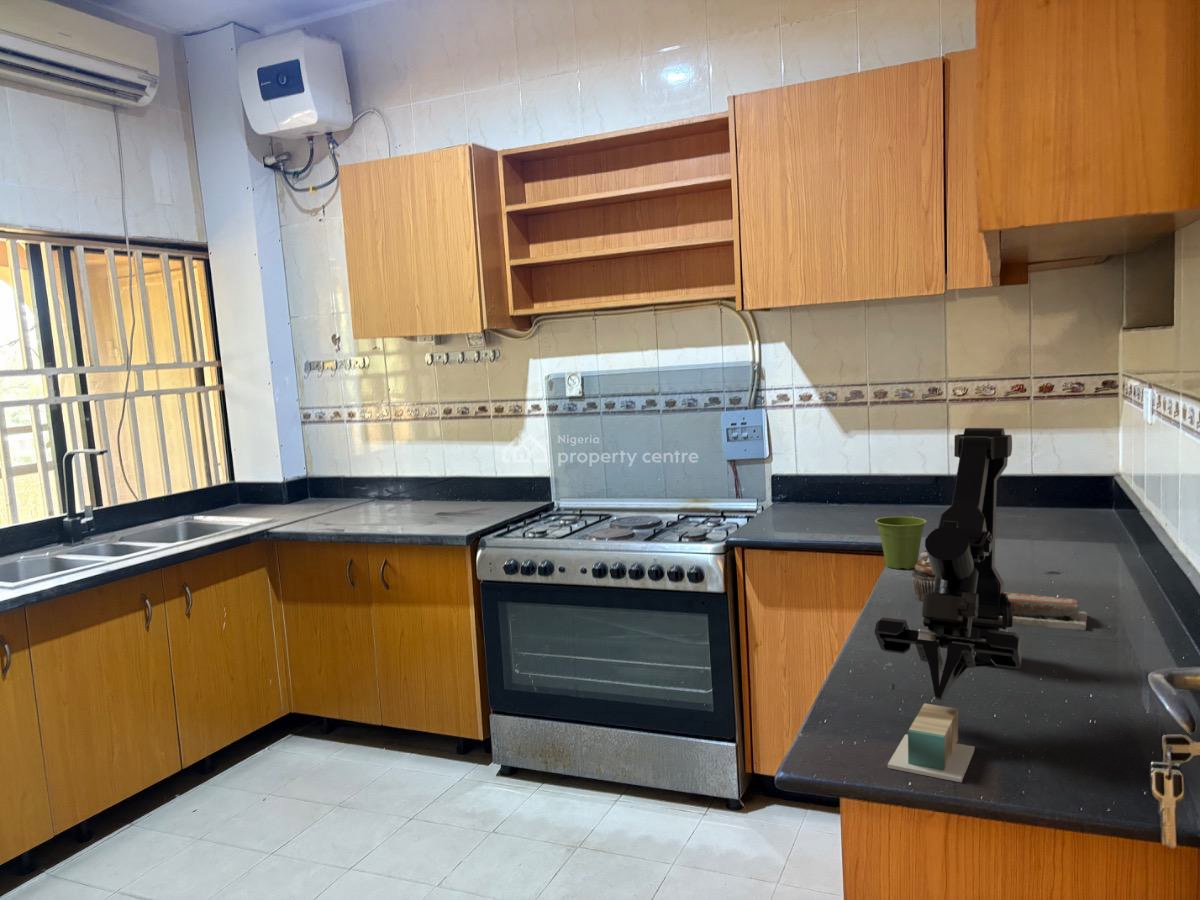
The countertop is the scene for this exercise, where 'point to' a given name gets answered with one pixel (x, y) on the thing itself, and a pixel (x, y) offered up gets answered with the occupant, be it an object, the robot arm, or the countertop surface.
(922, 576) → the cupcake
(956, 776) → the mat
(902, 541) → the plant pot
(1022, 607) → the stepped brick
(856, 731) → the countertop surface
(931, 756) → the block
